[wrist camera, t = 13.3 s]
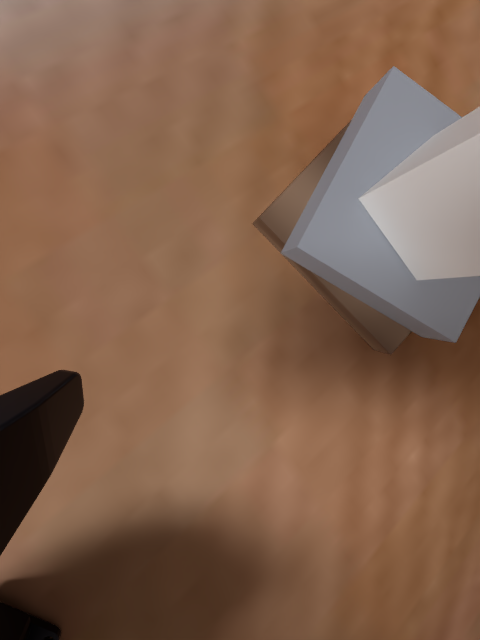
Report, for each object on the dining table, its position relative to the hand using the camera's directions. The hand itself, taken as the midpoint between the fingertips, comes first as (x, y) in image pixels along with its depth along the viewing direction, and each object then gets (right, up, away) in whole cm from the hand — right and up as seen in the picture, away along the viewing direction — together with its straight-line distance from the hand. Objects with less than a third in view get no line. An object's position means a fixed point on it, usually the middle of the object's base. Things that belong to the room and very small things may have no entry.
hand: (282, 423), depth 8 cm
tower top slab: (+7, +7, +12) cm, 15 cm away
